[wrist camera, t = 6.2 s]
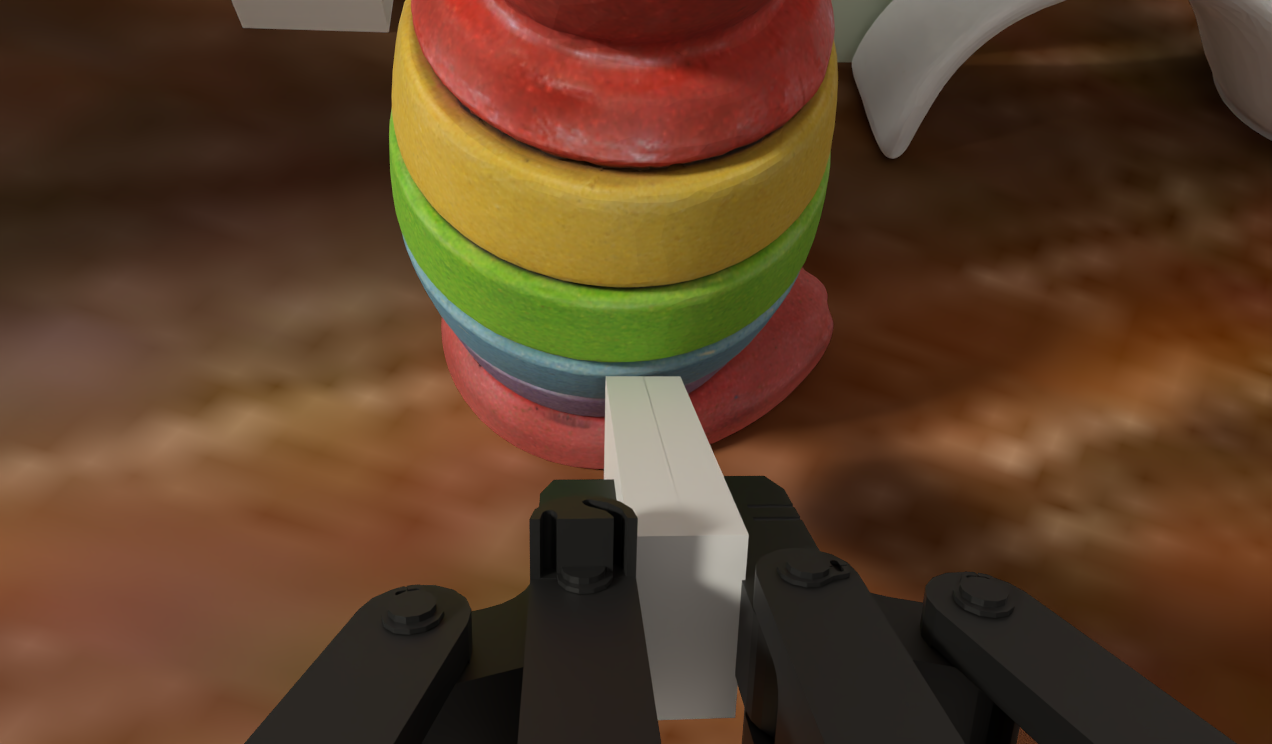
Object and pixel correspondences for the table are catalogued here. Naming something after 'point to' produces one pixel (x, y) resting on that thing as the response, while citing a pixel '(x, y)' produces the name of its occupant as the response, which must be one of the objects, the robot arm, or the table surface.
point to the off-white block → (316, 14)
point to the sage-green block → (853, 24)
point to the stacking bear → (615, 202)
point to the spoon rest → (988, 3)
